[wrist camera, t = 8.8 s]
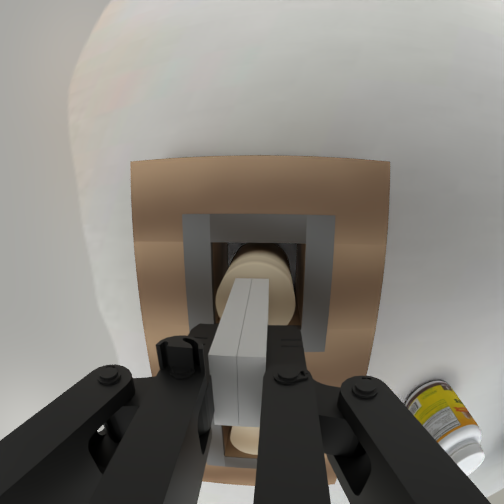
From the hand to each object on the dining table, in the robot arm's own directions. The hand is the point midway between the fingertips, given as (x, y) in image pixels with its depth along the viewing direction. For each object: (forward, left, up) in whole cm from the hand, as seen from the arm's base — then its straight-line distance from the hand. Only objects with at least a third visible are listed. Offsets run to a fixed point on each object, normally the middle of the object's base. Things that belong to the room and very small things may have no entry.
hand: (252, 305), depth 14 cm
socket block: (+4, +4, -9) cm, 10 cm away
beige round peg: (0, 0, -6) cm, 6 cm away
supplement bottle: (-2, +22, -9) cm, 24 cm away
